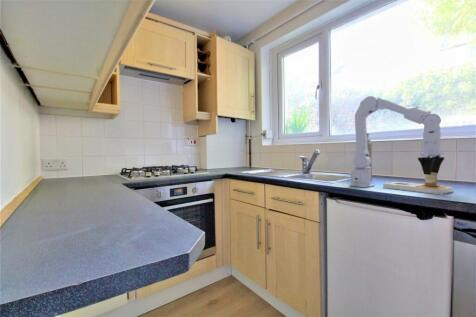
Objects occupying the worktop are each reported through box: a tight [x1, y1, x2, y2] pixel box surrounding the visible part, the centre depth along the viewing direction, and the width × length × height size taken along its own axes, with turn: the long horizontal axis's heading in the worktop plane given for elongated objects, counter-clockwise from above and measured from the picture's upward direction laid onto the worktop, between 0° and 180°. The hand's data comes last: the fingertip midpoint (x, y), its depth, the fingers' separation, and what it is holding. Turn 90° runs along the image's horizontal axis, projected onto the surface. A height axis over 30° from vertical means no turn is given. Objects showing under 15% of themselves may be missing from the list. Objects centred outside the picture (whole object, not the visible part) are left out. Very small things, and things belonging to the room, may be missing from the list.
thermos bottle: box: [367, 133, 373, 180], centre depth 139 cm, size 8×8×28 cm
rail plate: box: [382, 181, 454, 196], centre depth 104 cm, size 12×22×2 cm, turn 31°
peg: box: [424, 173, 438, 187], centre depth 100 cm, size 4×4×8 cm
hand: (430, 173), depth 99 cm, fingers open, 7 cm apart
